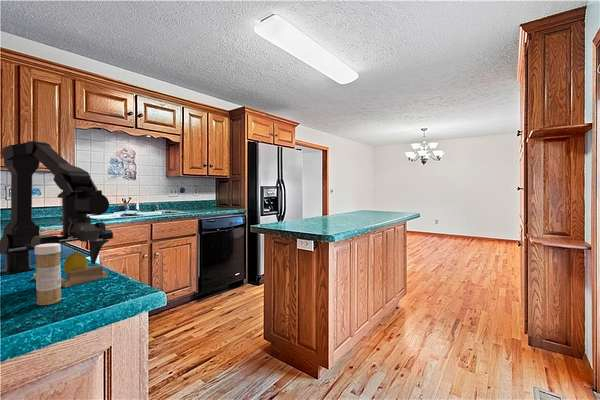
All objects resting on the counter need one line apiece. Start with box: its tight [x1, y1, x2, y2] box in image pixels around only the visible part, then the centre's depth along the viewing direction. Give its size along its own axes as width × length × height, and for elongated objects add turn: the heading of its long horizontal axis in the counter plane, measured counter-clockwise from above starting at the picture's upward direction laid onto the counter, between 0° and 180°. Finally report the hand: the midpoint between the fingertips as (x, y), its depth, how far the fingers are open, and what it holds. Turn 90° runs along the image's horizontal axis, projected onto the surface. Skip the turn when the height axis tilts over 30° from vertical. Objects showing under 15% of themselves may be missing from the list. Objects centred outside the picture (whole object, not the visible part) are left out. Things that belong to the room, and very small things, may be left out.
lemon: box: [63, 251, 89, 275], centre depth 87 cm, size 6×6×8 cm
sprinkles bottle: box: [34, 243, 62, 306], centre depth 69 cm, size 5×5×13 cm
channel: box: [33, 265, 108, 288], centre depth 89 cm, size 17×11×4 cm, turn 63°
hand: (76, 267), depth 87 cm, fingers open, 9 cm apart
